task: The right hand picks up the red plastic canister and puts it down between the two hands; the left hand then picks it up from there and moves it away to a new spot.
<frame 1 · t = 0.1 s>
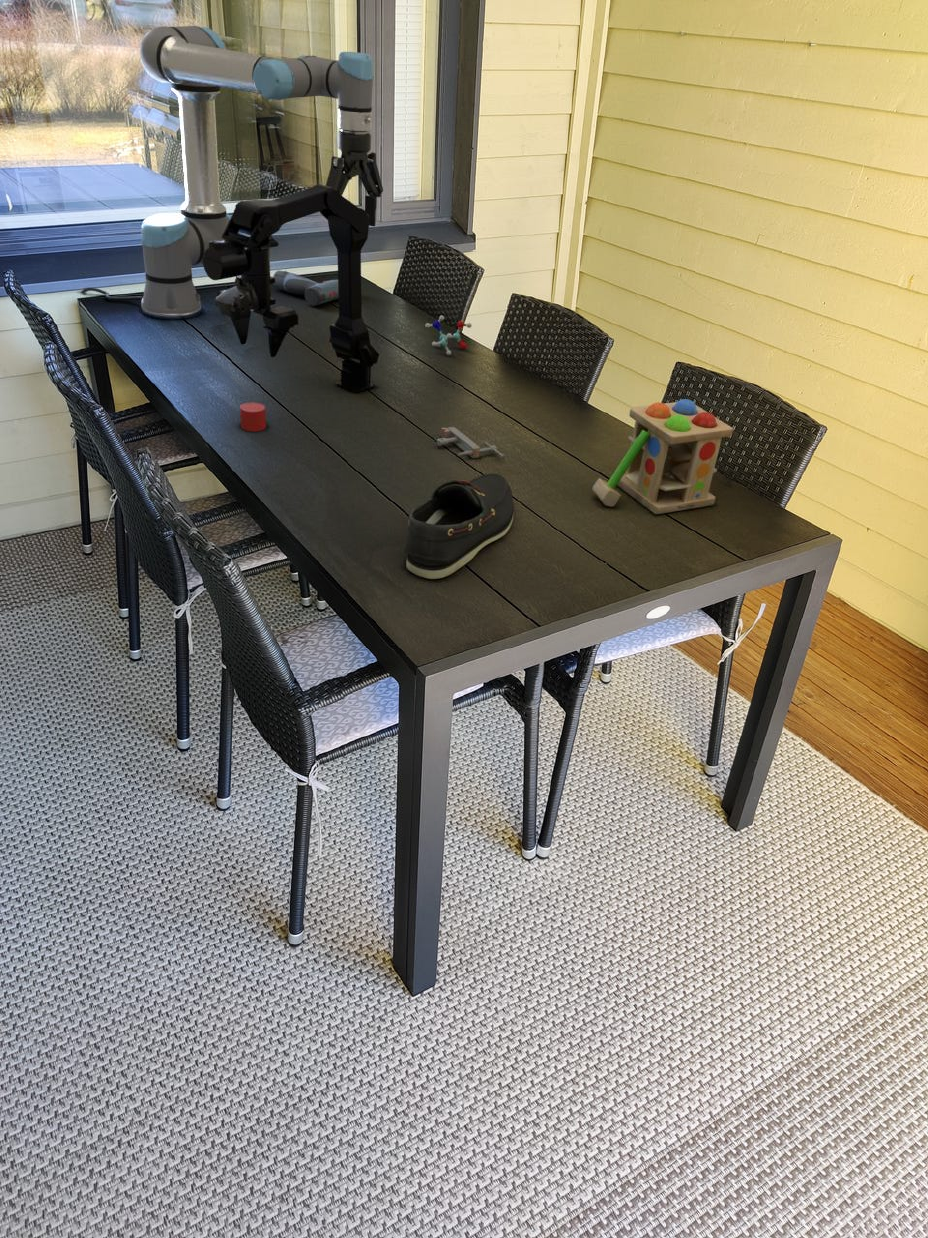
left hand: (352, 229, 234), 28 cm above the table, tool pointing down, fingers open, 13 cm apart
right hand: (258, 350, 199), 14 cm above the table, tool pointing down, fingers open, 9 cm apart
clamp: (466, 451, 202), on the table
pounding bench toy: (646, 497, 191), on the table
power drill: (312, 294, 282), on the table
canister: (253, 426, 203), on the table
boat shoe: (460, 536, 172), on the table
molecular model: (445, 349, 252), on the table
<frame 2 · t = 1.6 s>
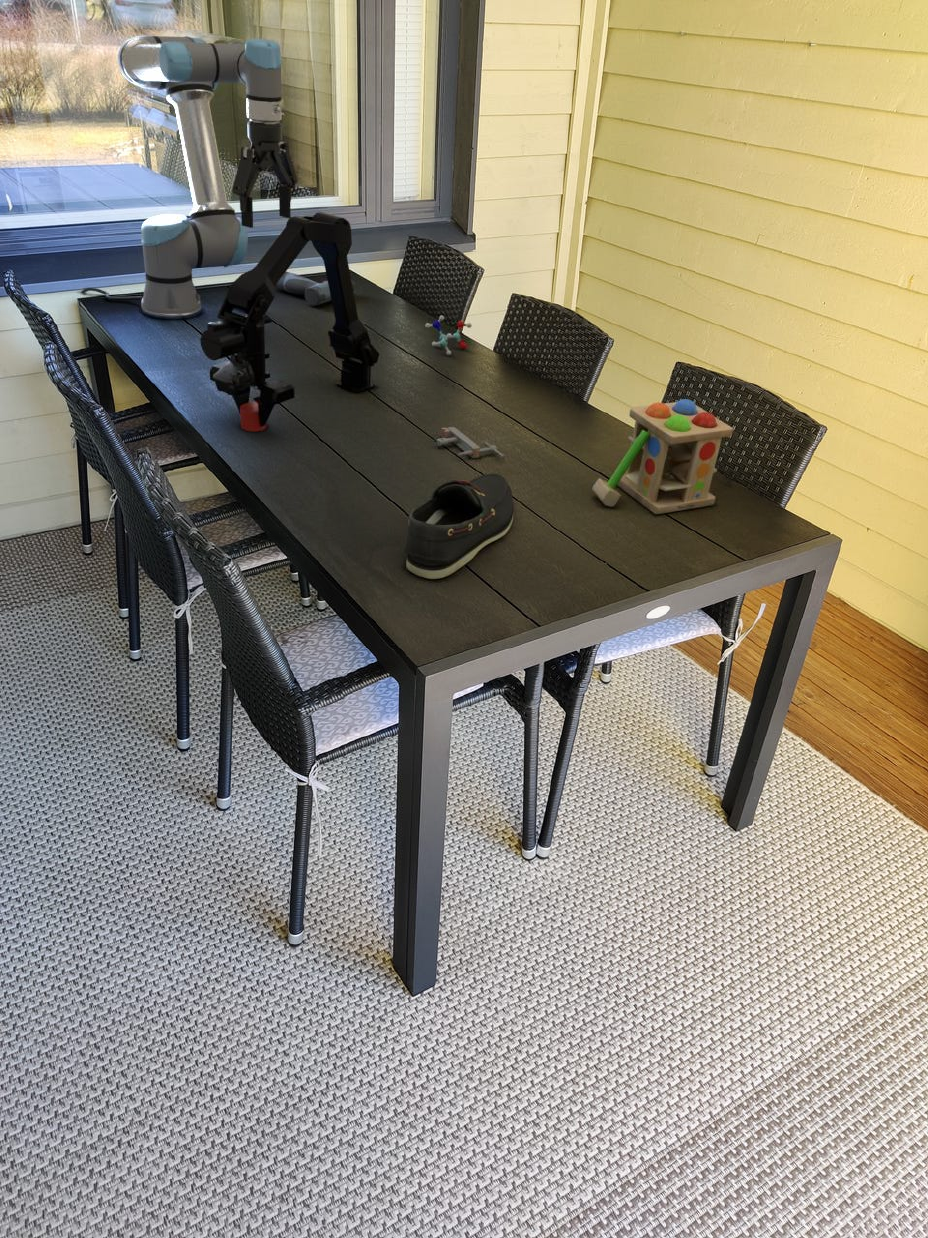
left hand: (266, 221, 228), 29 cm above the table, tool pointing down, fingers open, 13 cm apart
right hand: (253, 421, 203), 1 cm above the table, tool pointing down, fingers closed on canister, 5 cm apart
canister: (253, 426, 203), on the table, touching right hand
everything else where it was.
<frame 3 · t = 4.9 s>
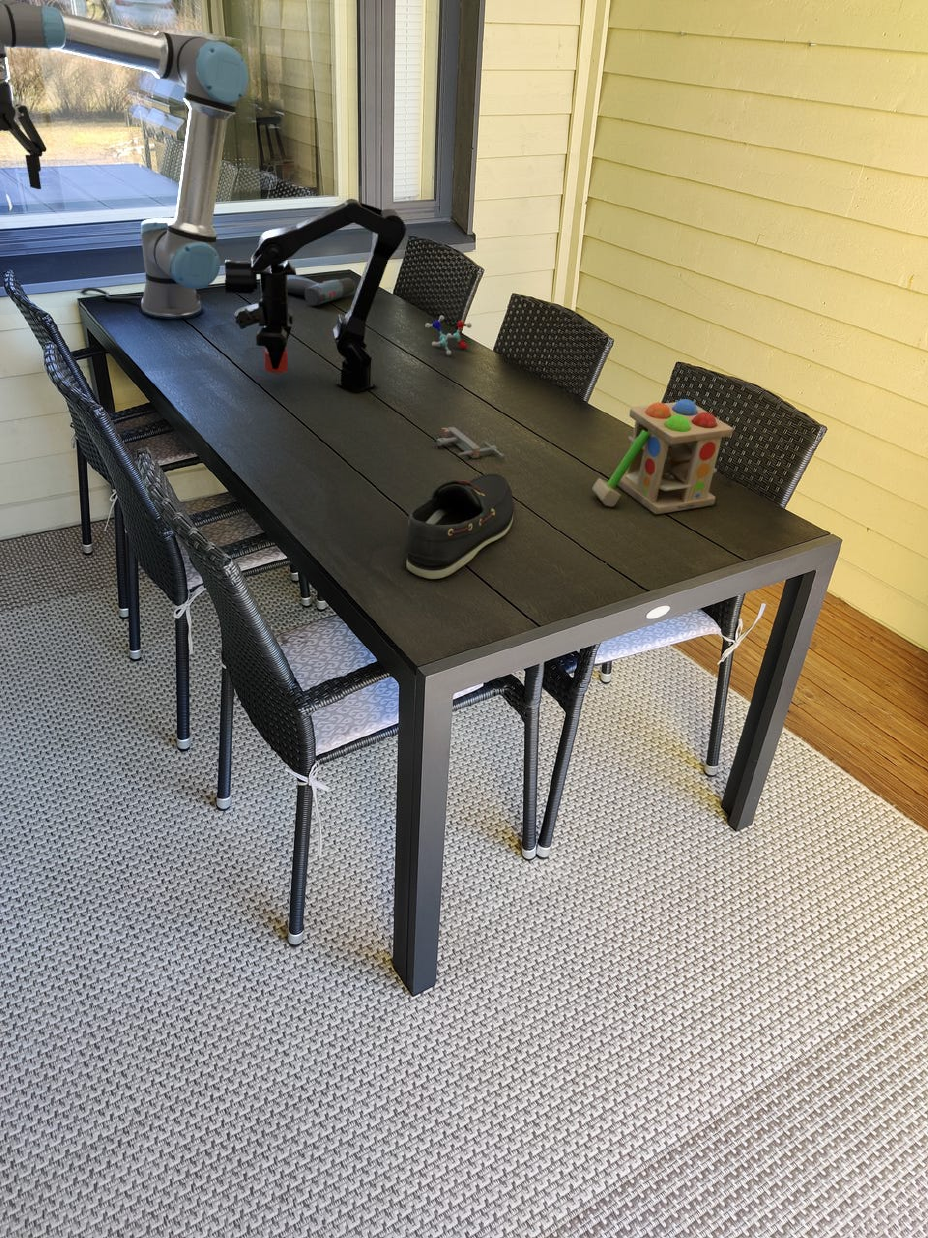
left hand: (9, 191, 211), 34 cm above the table, tool pointing down, fingers open, 13 cm apart
right hand: (276, 364, 220), 5 cm above the table, tool pointing down, fingers closed on canister, 5 cm apart
canister: (276, 368, 220), point 4 cm above the table, touching right hand
everything else where it was.
when the right hand's fingers open (2 cm above the table, at t = 8.1 s): canister stays where it is, on the table.
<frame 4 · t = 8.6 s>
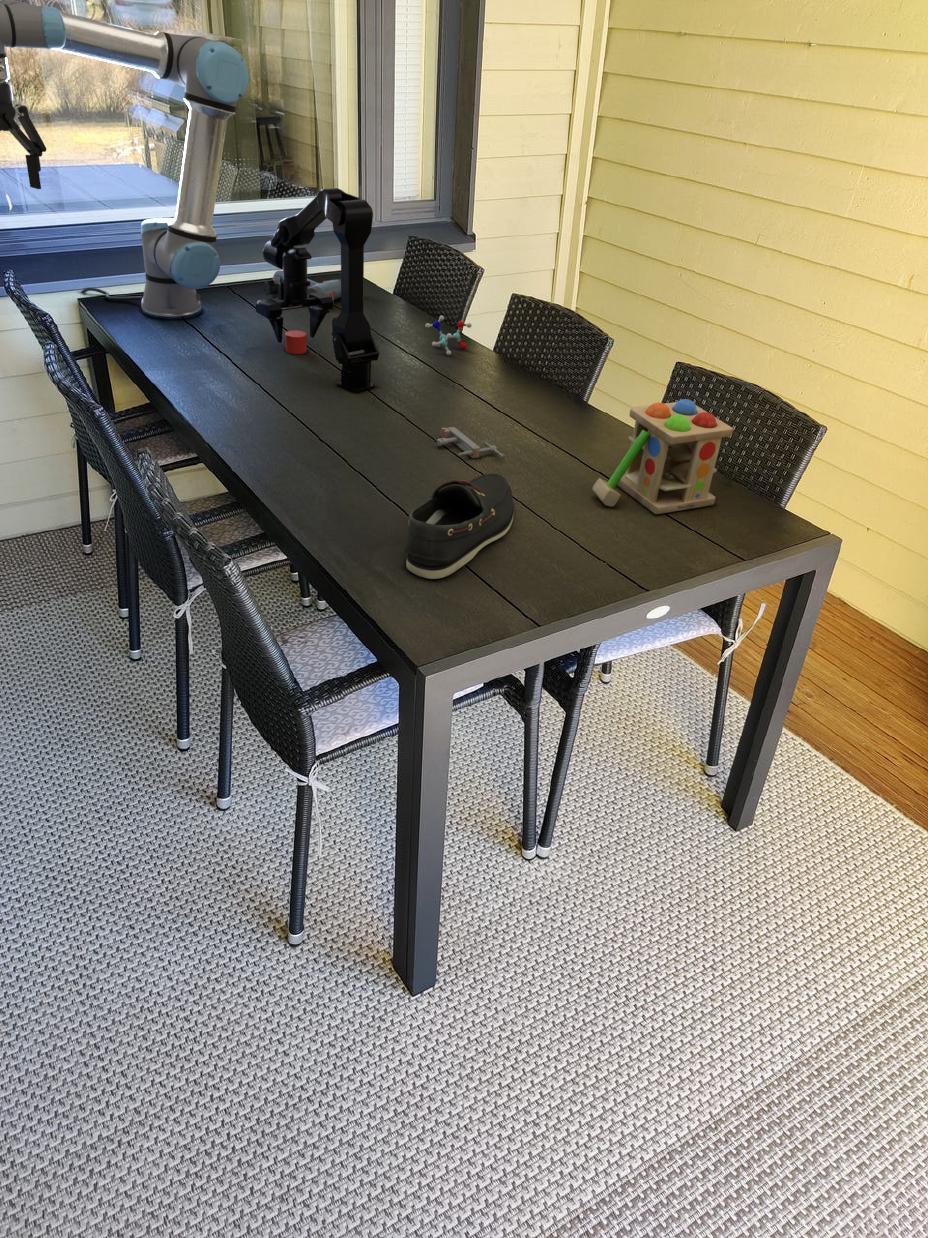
left hand: (9, 191, 211), 34 cm above the table, tool pointing down, fingers open, 13 cm apart
right hand: (296, 339, 241), 3 cm above the table, tool pointing down, fingers open, 9 cm apart
canister: (296, 350, 242), on the table
everything else where it was.
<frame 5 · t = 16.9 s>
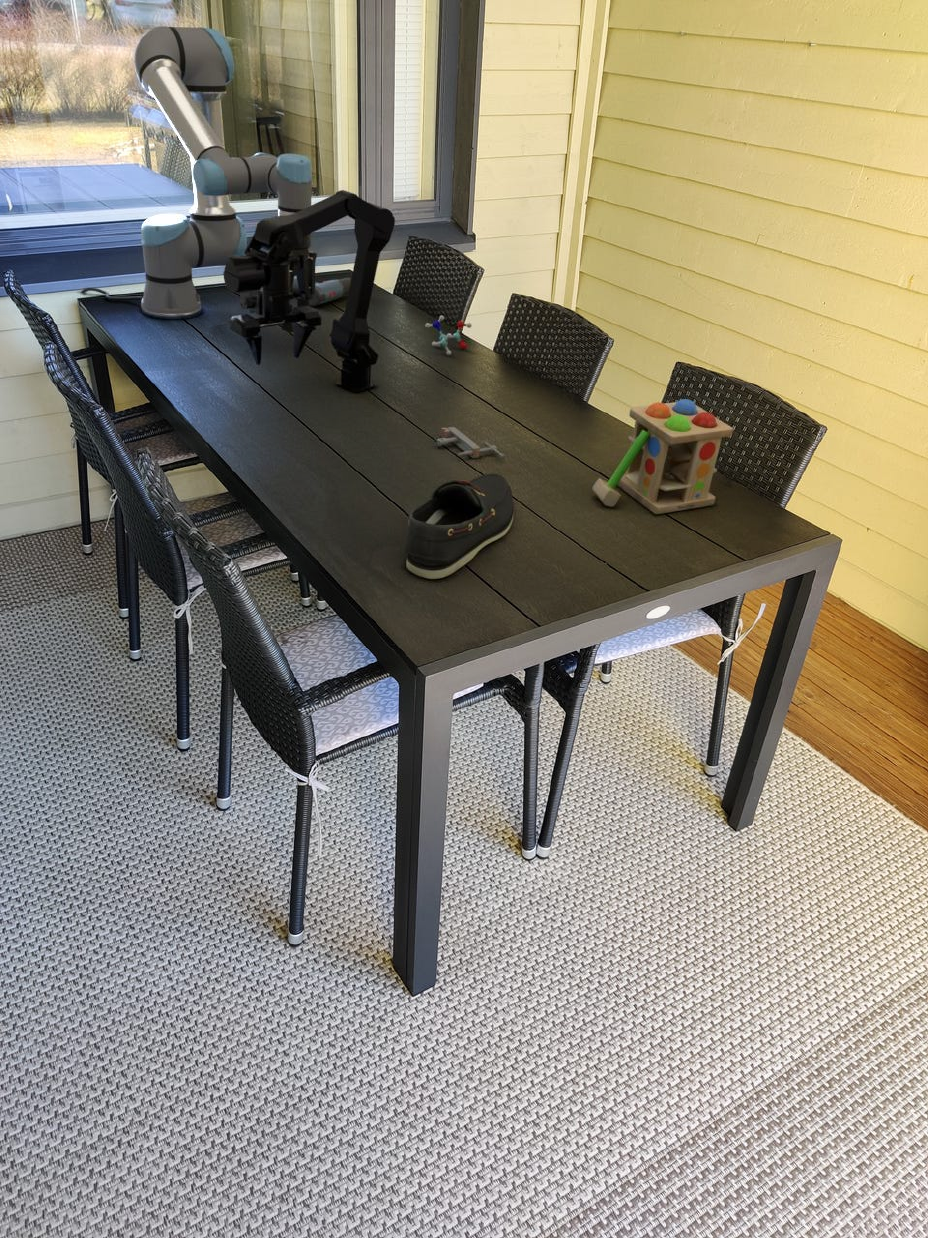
left hand: (295, 327, 240), 6 cm above the table, tool pointing down, fingers closed on canister, 5 cm apart
right hand: (277, 360, 208), 10 cm above the table, tool pointing down, fingers open, 9 cm apart
canister: (294, 328, 240), point 5 cm above the table, touching left hand
everything else where it was.
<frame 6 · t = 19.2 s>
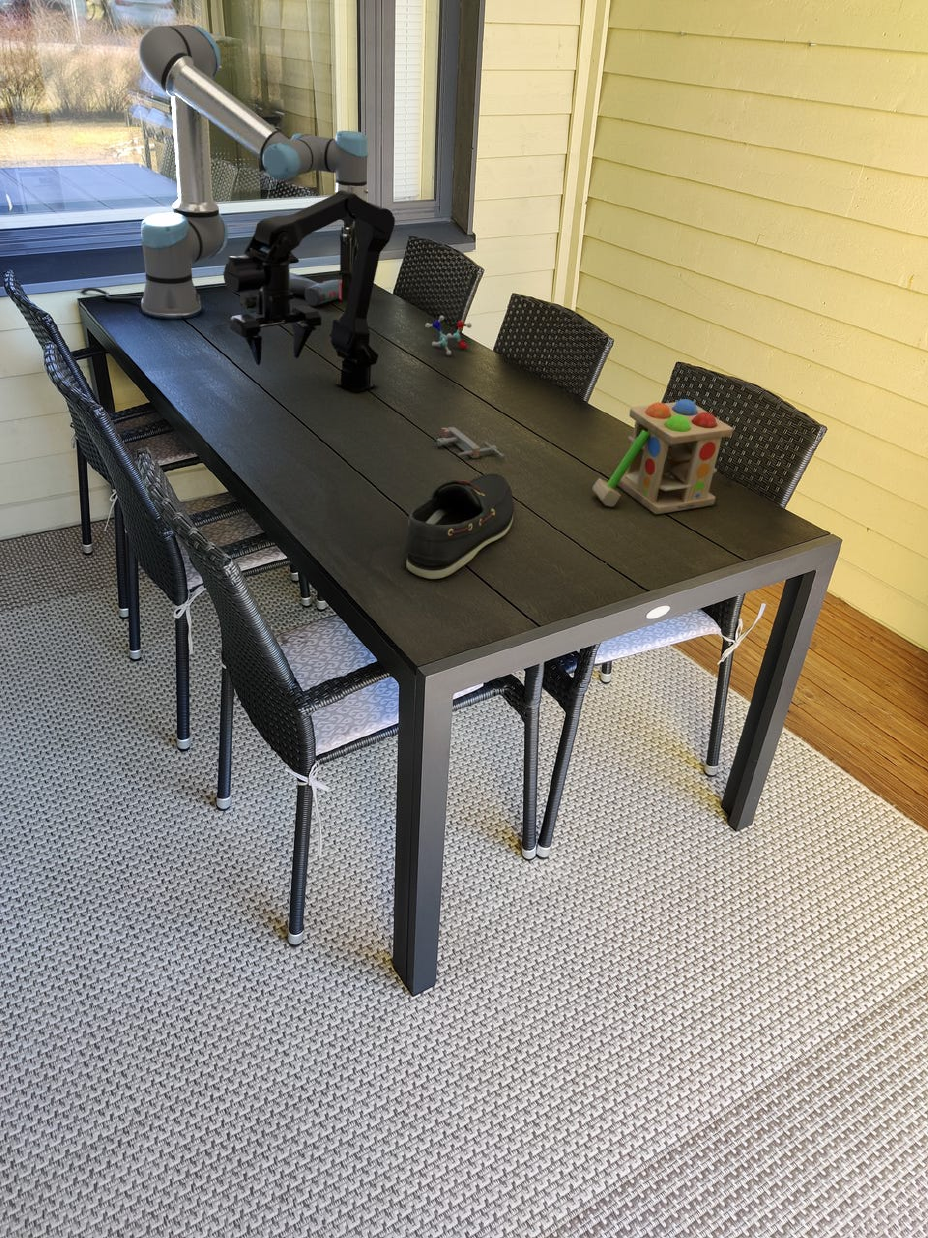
left hand: (349, 297, 253), 9 cm above the table, tool pointing down, fingers closed on canister, 5 cm apart
right hand: (277, 360, 208), 10 cm above the table, tool pointing down, fingers open, 9 cm apart
canister: (349, 298, 253), point 8 cm above the table, touching left hand
everything else where it was.
when the left hand's fingers open (0 cm above the table, at t = 21.9 s): canister stays where it is, on the table.
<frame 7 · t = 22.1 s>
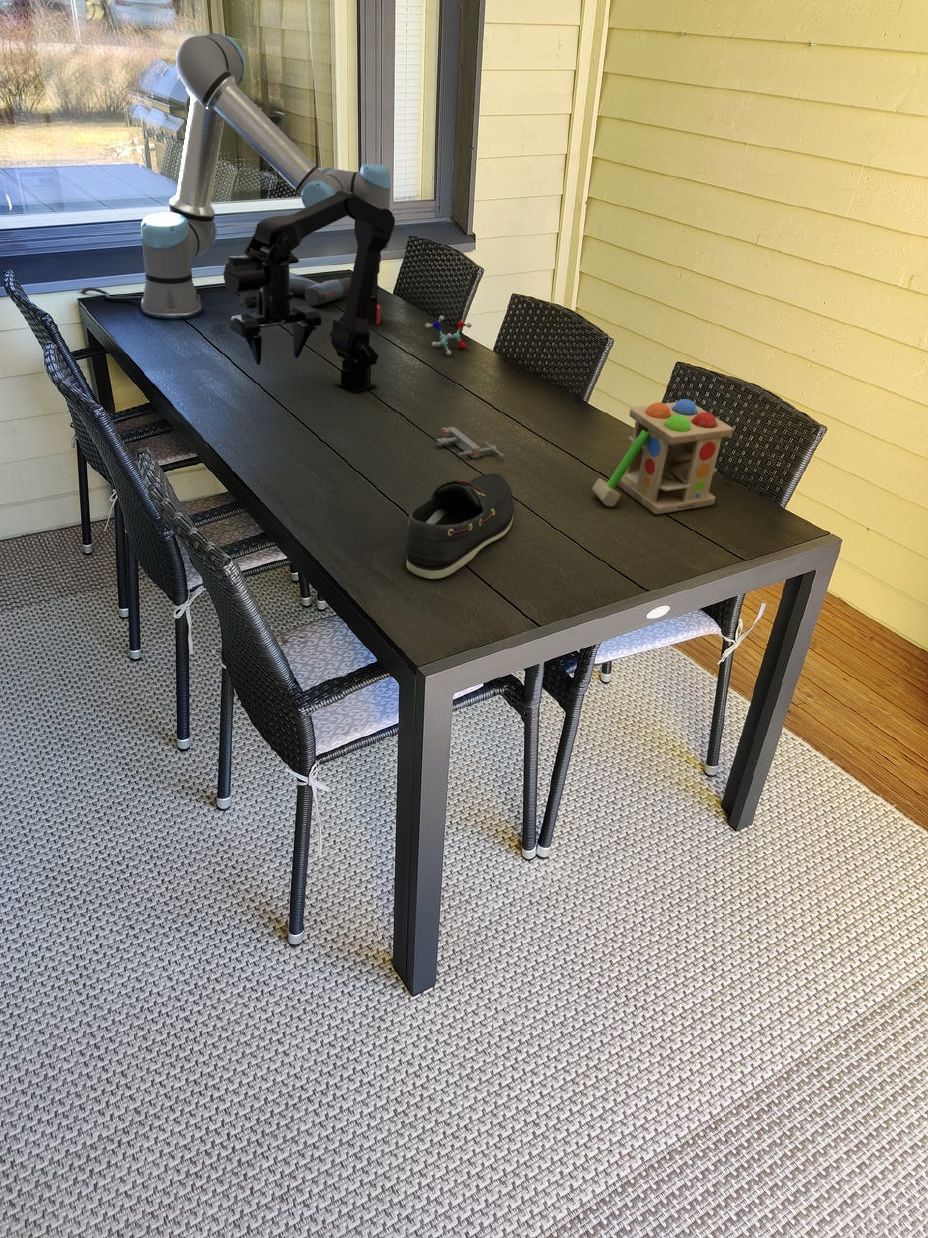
left hand: (371, 318, 265), 1 cm above the table, tool pointing down, fingers open, 8 cm apart
right hand: (277, 360, 208), 10 cm above the table, tool pointing down, fingers open, 9 cm apart
canister: (370, 321, 266), on the table
everything else where it was.
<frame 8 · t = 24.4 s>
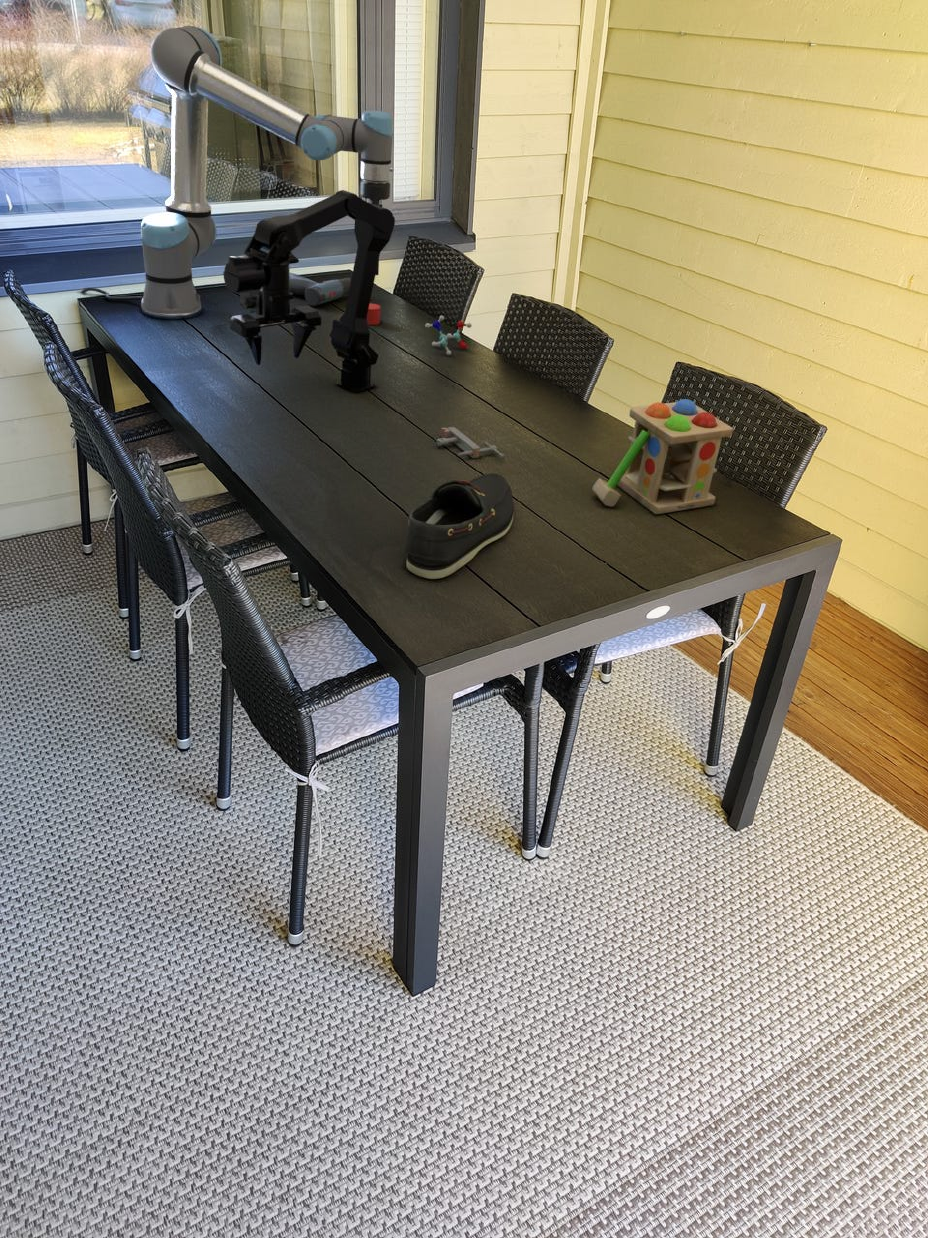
left hand: (372, 267, 258), 14 cm above the table, tool pointing down, fingers open, 13 cm apart
right hand: (277, 360, 208), 10 cm above the table, tool pointing down, fingers open, 9 cm apart
nothing on the table moved.
at the end: canister inside the target area (0.1 cm from its centre), on the table; canister tilted 0°; the two hands never held the canister at the same time; the left hand is holding nothing; the right hand is holding nothing; canister at rest at the end (0.0 cm/s) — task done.
